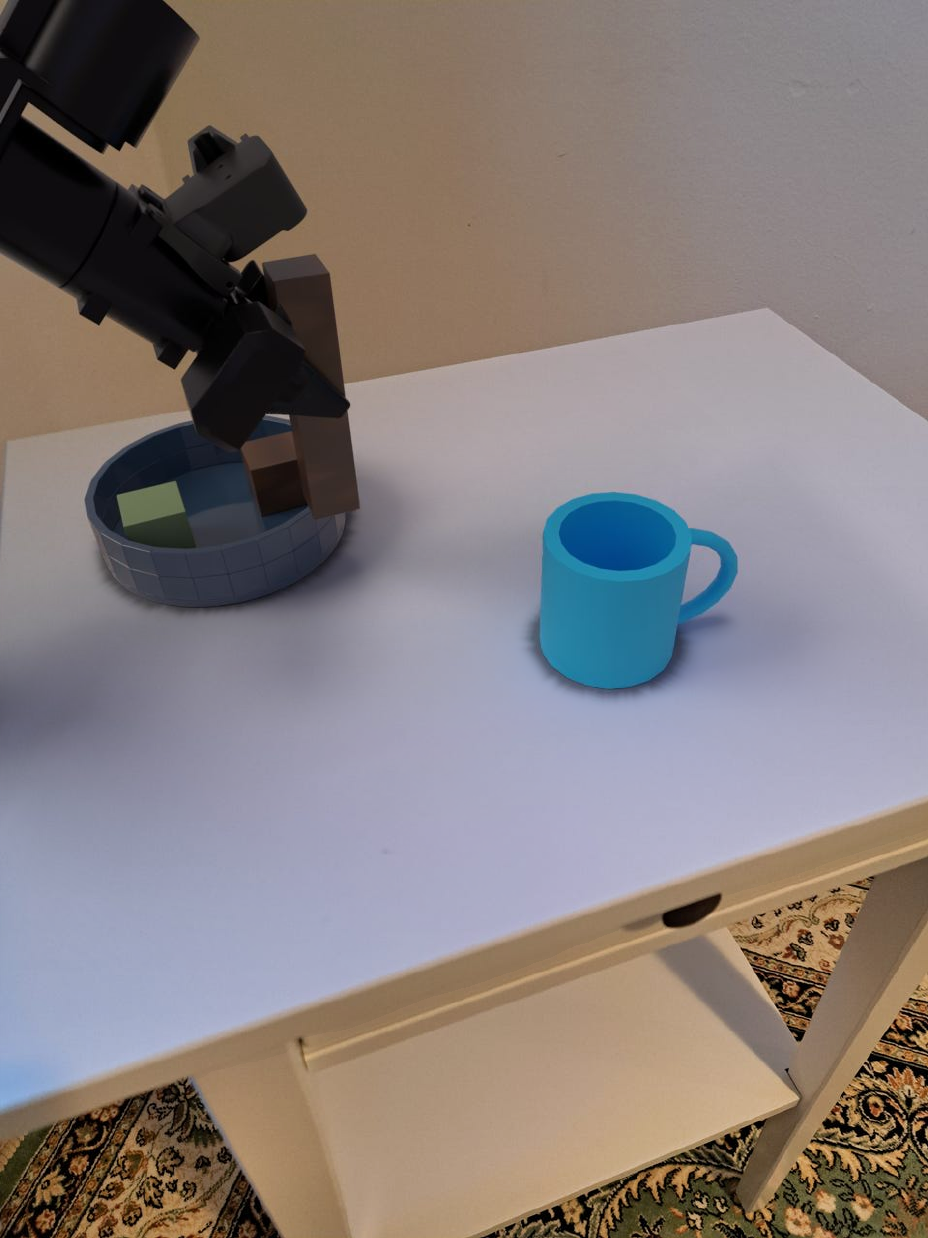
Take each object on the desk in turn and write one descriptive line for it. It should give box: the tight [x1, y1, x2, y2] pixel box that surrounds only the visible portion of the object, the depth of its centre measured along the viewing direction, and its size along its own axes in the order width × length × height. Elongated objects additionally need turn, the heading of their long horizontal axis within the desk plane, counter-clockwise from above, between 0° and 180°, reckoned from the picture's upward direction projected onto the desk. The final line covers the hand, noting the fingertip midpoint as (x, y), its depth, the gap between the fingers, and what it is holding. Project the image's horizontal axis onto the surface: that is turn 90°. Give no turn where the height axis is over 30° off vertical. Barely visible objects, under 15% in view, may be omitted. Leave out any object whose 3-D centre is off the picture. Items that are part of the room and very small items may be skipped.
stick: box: [261, 253, 361, 520], centre depth 52 cm, size 3×3×15 cm
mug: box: [539, 491, 739, 690], centre depth 52 cm, size 12×8×8 cm
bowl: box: [84, 414, 347, 608], centre depth 63 cm, size 17×17×4 cm
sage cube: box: [117, 481, 197, 549], centre depth 60 cm, size 4×4×4 cm
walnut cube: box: [240, 431, 308, 516], centre depth 65 cm, size 4×4×4 cm
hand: (338, 397), depth 52 cm, fingers closed on stick, 3 cm apart
